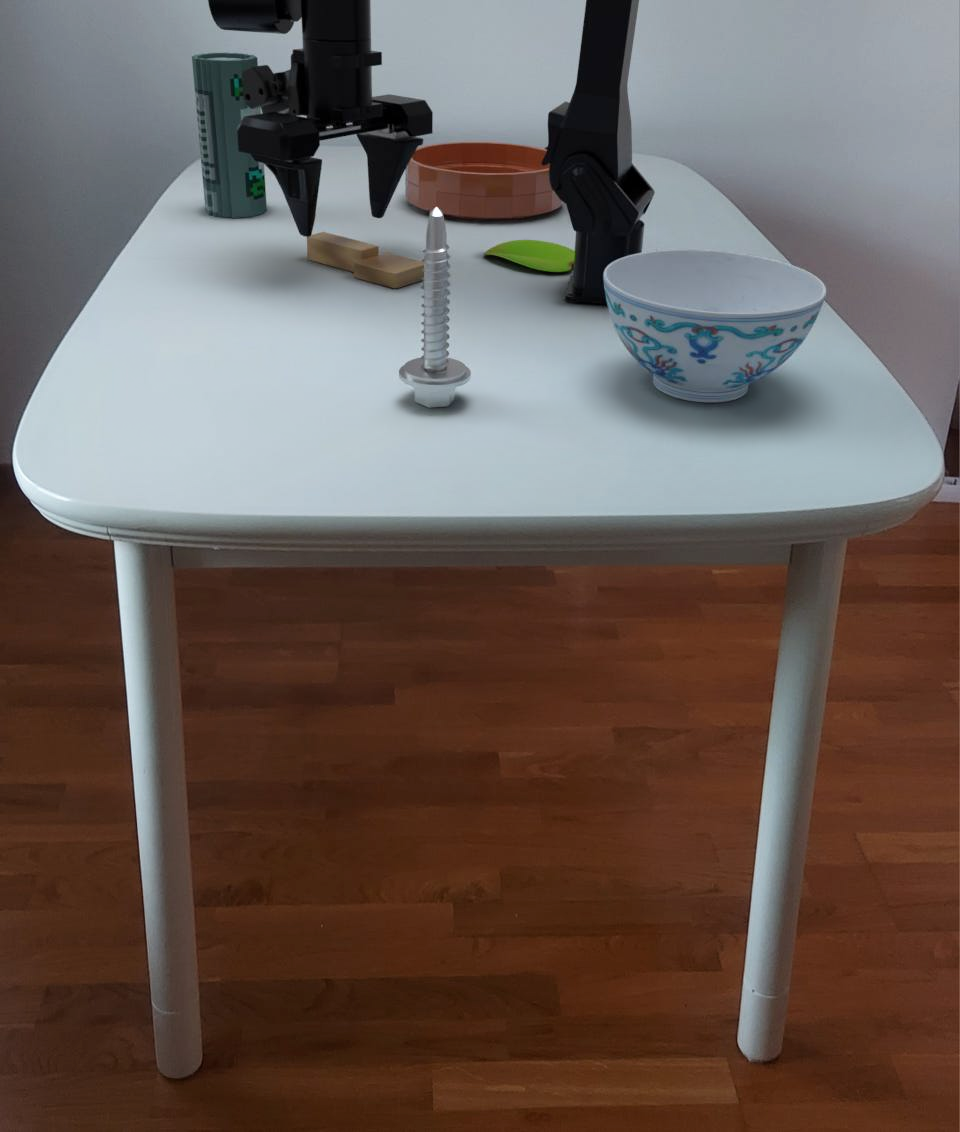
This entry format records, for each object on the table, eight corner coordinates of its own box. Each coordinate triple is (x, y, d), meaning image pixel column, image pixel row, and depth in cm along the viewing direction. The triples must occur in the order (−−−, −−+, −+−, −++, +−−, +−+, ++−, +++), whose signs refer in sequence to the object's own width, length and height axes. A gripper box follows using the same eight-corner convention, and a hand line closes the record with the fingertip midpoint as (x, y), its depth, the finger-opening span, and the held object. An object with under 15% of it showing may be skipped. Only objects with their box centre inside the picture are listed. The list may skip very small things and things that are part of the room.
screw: (432, 420, 77) (384, 399, 80) (484, 402, 80) (436, 382, 83) (434, 220, 71) (382, 205, 74) (491, 208, 74) (438, 194, 76)
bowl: (554, 228, 121) (557, 178, 119) (391, 217, 123) (390, 168, 121) (568, 191, 136) (571, 146, 133) (422, 182, 138) (422, 138, 135)
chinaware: (642, 435, 76) (654, 320, 72) (566, 356, 88) (573, 254, 84) (848, 417, 80) (870, 306, 76) (747, 343, 92) (761, 244, 88)
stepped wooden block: (428, 278, 105) (429, 254, 104) (395, 289, 102) (395, 264, 101) (332, 252, 111) (331, 229, 110) (298, 262, 108) (297, 238, 107)
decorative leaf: (524, 283, 105) (525, 273, 105) (477, 253, 112) (477, 243, 111) (596, 268, 108) (596, 258, 108) (546, 240, 115) (546, 230, 114)
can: (271, 215, 122) (261, 60, 115) (212, 219, 120) (199, 61, 113) (258, 202, 127) (248, 52, 120) (202, 205, 125) (188, 53, 118)
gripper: (345, 22, 109) (350, 194, 116) (185, 36, 96) (202, 229, 104) (437, 33, 103) (435, 214, 111) (279, 50, 90) (290, 253, 98)
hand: (342, 226), depth 106 cm, fingers open, 9 cm apart
